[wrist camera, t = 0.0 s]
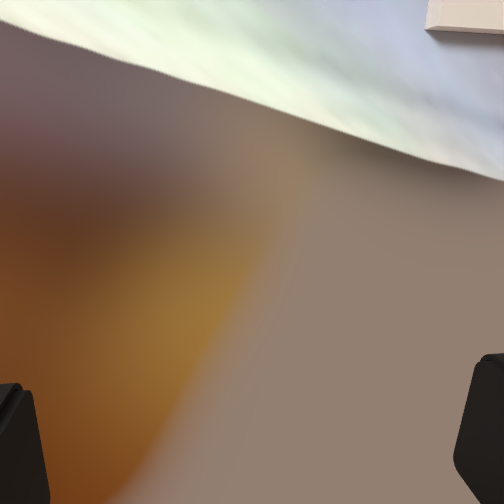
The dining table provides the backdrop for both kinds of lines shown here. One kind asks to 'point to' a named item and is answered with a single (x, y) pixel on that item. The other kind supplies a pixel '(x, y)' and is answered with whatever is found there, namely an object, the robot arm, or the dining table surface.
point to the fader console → (466, 16)
